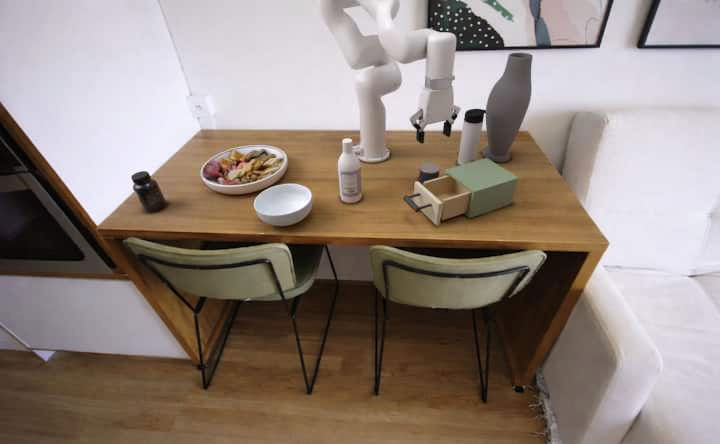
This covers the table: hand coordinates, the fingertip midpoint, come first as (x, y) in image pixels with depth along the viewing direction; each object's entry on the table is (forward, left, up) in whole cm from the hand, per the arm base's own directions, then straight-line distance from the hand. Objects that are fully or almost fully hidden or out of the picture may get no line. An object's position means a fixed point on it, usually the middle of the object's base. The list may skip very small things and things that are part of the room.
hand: (433, 138), depth 107 cm
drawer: (-2, -18, -14) cm, 23 cm away
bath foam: (-27, -7, -16) cm, 32 cm away
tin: (0, 0, -15) cm, 15 cm away
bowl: (-64, +12, -16) cm, 67 cm away
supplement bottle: (-91, -4, -16) cm, 93 cm away
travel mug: (+16, +9, -16) cm, 24 cm away
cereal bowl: (-47, -15, -16) cm, 52 cm away
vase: (+29, +14, -16) cm, 36 cm away
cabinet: (+12, -13, -15) cm, 23 cm away
